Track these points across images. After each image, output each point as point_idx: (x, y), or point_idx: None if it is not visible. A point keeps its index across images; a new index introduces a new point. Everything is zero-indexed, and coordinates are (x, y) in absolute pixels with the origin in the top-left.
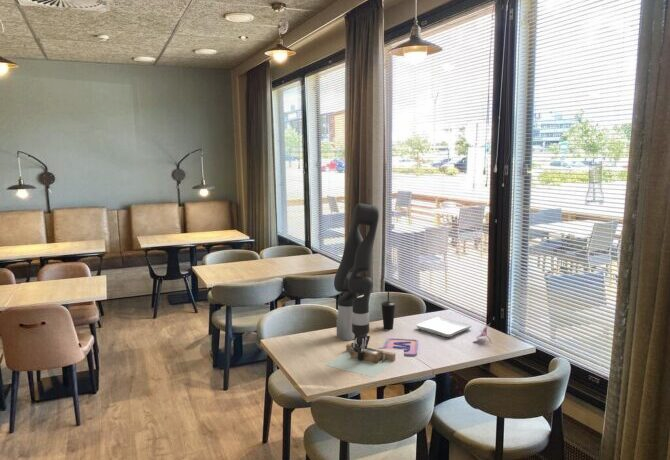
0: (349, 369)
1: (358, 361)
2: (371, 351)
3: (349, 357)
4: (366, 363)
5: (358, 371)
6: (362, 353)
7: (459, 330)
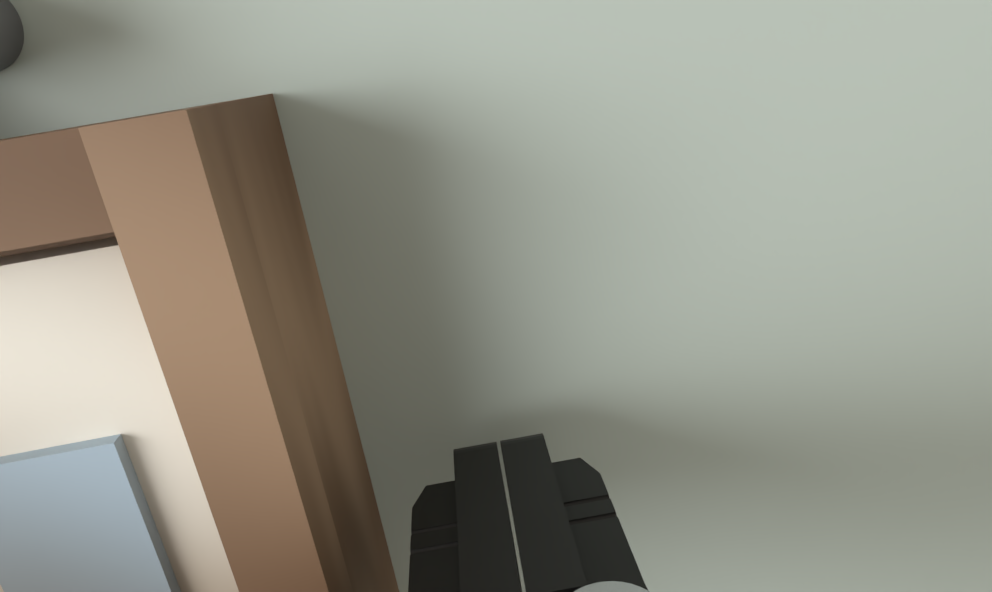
0: (962, 391)
1: None
2: (58, 515)
3: None
4: (455, 319)
5: (967, 167)
6: (555, 571)
7: None
